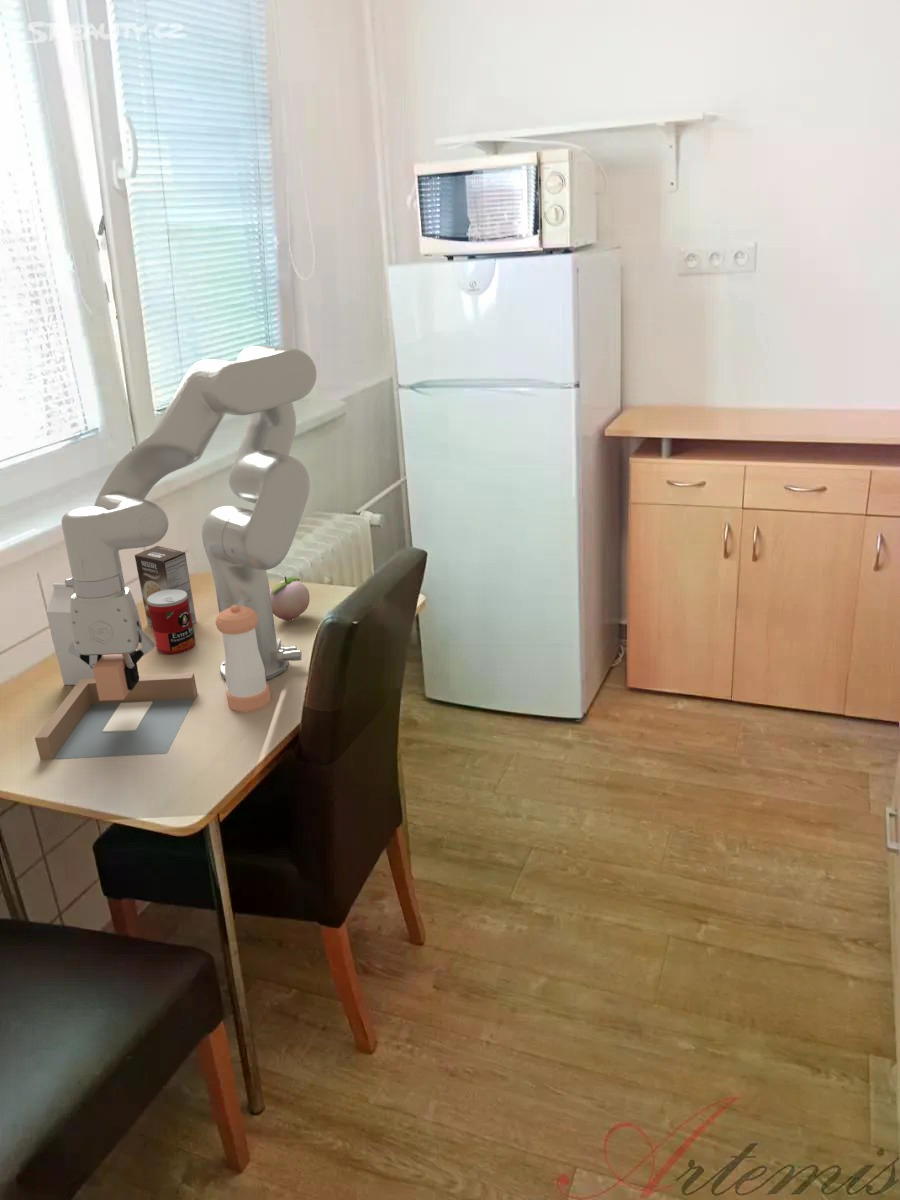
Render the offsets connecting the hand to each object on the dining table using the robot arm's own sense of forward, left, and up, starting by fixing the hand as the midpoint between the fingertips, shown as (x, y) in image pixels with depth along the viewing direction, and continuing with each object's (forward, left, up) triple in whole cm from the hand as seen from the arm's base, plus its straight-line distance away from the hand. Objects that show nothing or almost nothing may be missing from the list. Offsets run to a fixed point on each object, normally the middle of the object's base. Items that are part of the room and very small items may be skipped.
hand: (118, 685), depth 154 cm
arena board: (0, +2, -7) cm, 8 cm away
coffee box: (+4, -43, -8) cm, 44 cm away
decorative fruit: (-22, -41, -8) cm, 47 cm away
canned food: (0, -31, -8) cm, 32 cm away
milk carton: (+13, -19, -8) cm, 24 cm away
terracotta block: (0, 0, -1) cm, 1 cm away
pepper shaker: (-20, -4, -8) cm, 22 cm away
